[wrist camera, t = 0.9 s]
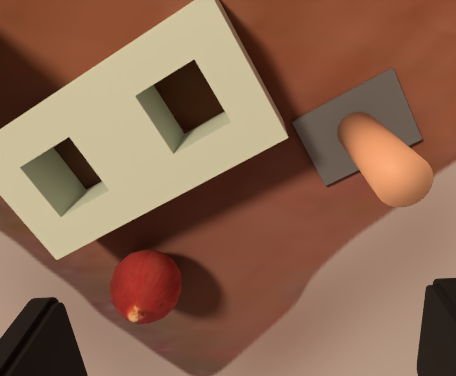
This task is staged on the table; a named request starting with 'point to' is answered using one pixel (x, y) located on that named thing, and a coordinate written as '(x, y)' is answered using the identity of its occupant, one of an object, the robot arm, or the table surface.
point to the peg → (385, 160)
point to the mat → (346, 104)
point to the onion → (145, 286)
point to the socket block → (135, 132)
